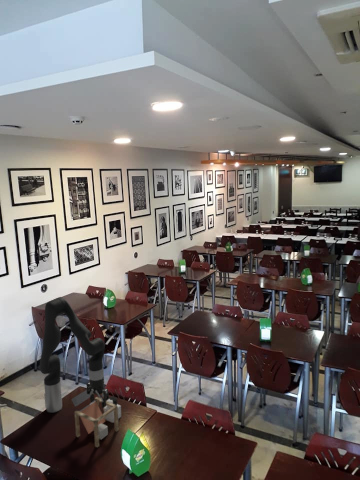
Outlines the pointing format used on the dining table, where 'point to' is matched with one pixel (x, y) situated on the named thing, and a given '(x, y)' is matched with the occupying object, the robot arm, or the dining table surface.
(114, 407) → the stand
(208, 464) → the dining table surface
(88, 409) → the trapdoor
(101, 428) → the light gray cube
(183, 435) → the dining table surface
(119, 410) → the medicine bottle
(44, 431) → the dining table surface
